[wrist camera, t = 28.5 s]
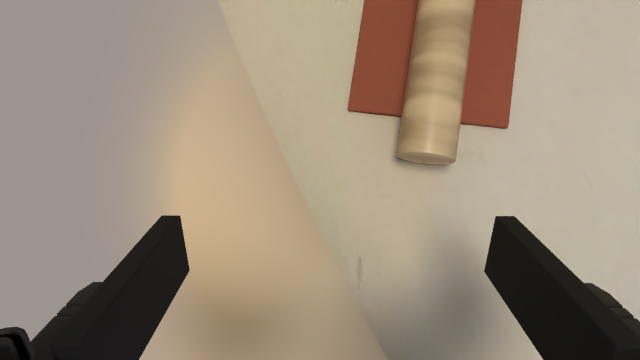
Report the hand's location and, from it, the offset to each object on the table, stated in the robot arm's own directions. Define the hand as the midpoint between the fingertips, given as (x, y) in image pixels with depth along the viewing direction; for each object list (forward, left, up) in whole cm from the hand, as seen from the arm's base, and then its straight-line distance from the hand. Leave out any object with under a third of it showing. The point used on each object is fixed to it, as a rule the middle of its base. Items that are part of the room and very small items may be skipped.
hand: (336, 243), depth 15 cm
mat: (+4, +18, -13) cm, 22 cm away
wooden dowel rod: (+5, +16, -12) cm, 21 cm away
